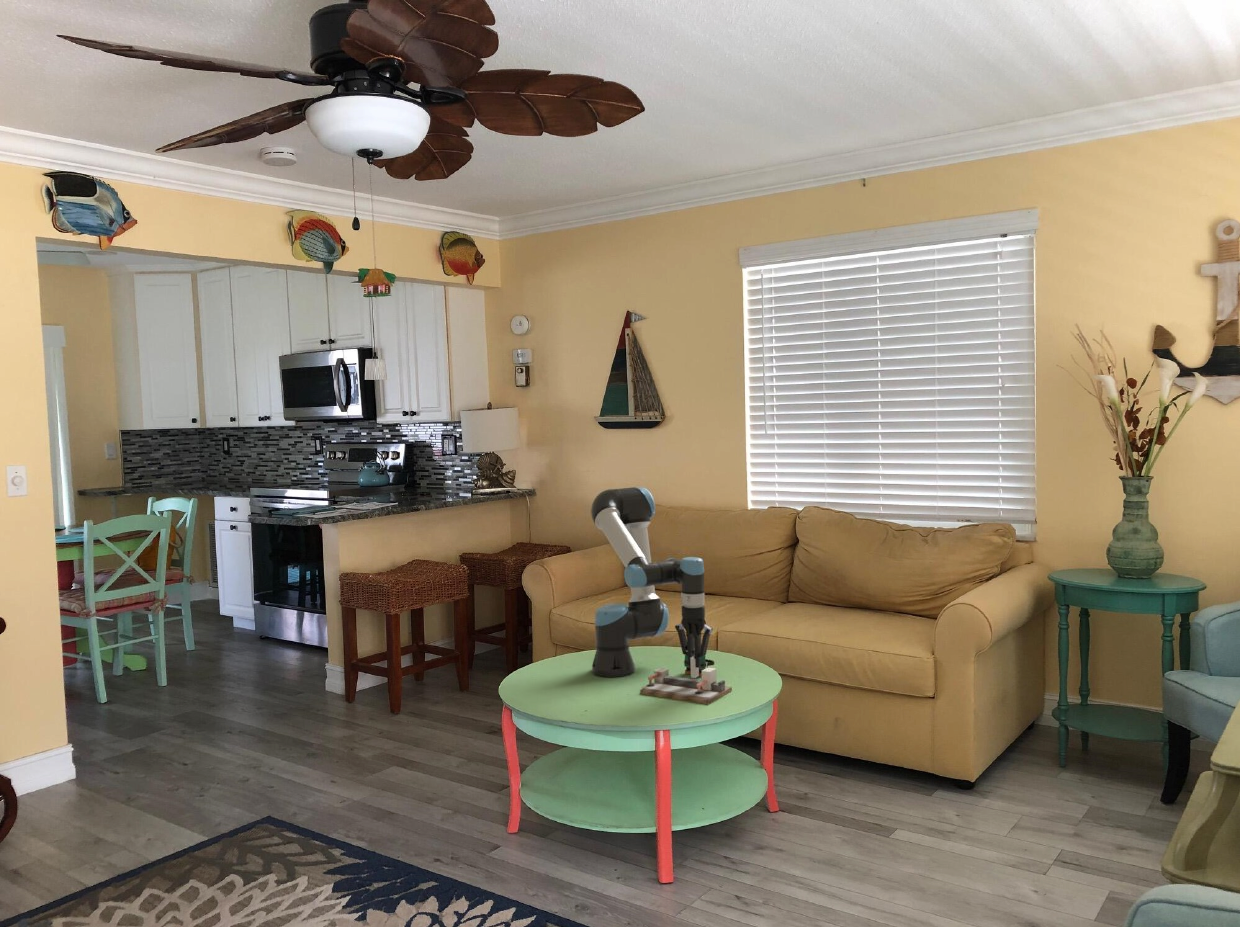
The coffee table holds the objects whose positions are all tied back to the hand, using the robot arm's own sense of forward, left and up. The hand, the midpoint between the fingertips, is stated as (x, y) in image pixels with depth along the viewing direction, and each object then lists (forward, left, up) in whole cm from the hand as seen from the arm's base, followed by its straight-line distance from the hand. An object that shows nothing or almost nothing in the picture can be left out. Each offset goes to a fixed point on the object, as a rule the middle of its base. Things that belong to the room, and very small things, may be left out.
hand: (694, 676), depth 307 cm
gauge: (-2, -3, -5) cm, 6 cm away
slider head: (+5, -3, -3) cm, 7 cm away
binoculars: (-9, +19, -5) cm, 21 cm away
